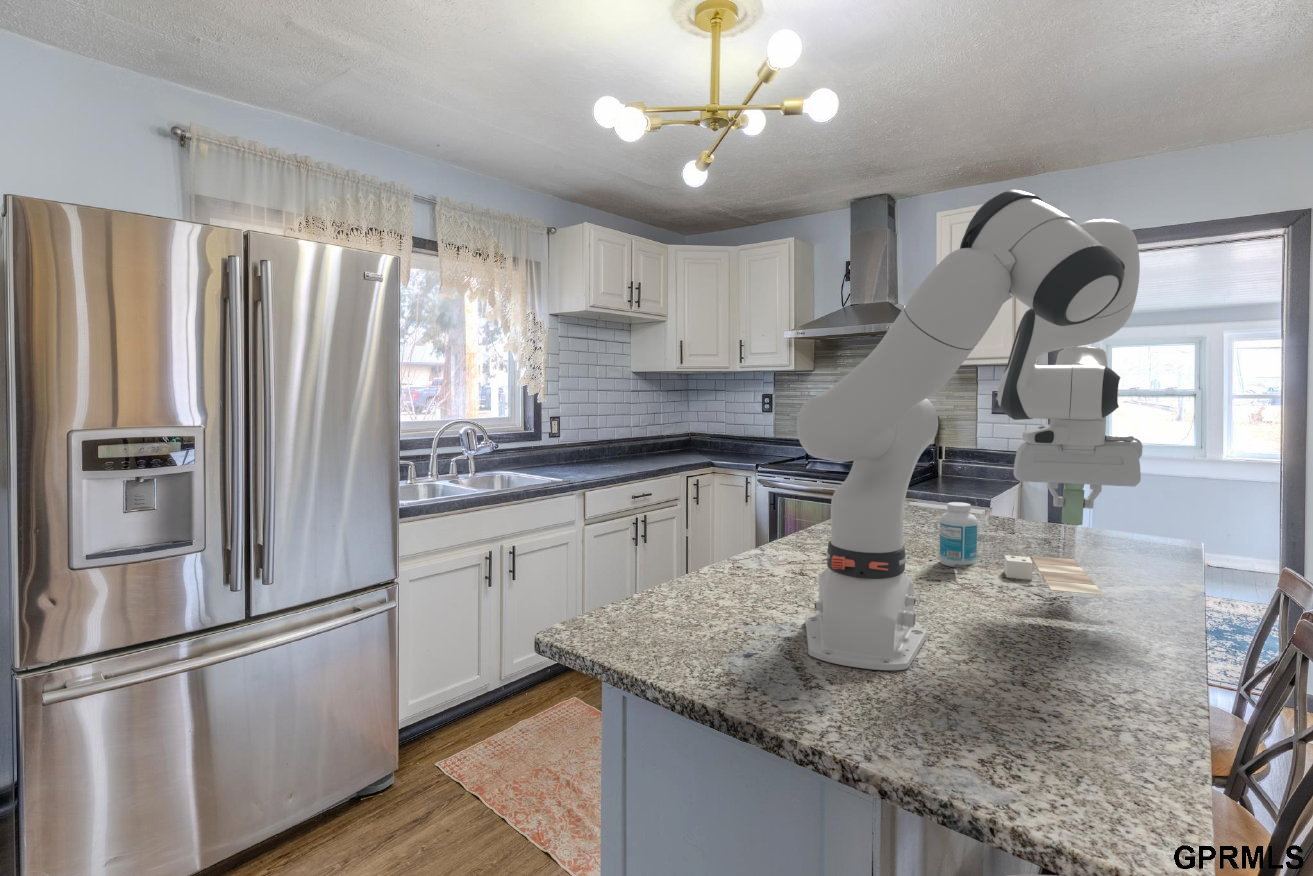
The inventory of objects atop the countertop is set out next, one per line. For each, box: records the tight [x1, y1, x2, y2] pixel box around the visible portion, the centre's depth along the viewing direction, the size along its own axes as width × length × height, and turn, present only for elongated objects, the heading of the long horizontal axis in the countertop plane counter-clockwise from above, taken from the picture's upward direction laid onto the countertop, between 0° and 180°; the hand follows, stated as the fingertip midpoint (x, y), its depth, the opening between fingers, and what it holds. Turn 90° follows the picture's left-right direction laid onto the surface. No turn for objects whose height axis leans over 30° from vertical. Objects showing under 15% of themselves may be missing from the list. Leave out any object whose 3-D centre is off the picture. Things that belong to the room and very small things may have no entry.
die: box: [1003, 554, 1034, 581], centre depth 133 cm, size 4×4×5 cm
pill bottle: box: [939, 501, 978, 569], centre depth 144 cm, size 8×7×14 cm
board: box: [1028, 555, 1104, 596], centre depth 134 cm, size 26×9×1 cm, turn 158°
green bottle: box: [1060, 483, 1085, 526], centre depth 125 cm, size 3×3×9 cm
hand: (1072, 507), depth 125 cm, fingers closed on green bottle, 3 cm apart
